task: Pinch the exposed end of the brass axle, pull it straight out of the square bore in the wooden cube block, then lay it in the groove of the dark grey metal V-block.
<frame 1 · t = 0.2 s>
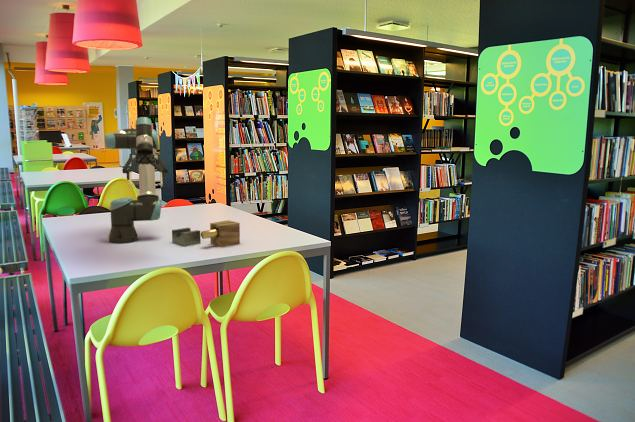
hand: (146, 185, 229), 35 cm above the table, fingers open, 13 cm apart
axle: (217, 236, 265), point 5 cm above the table, touching wooden cube block
v block: (186, 243, 270), on the table
wooden cube block: (225, 243, 270), on the table
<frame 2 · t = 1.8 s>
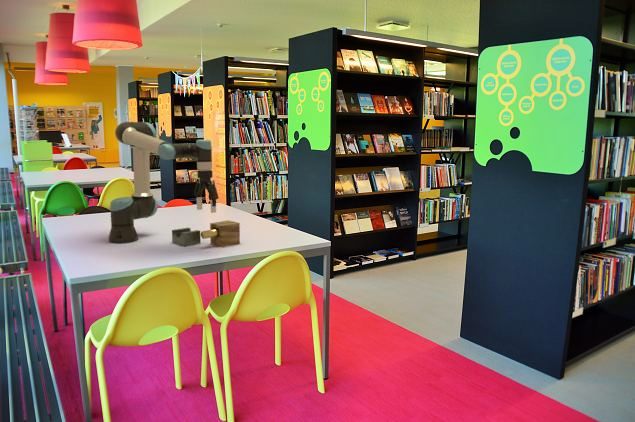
hand: (206, 211, 257), 19 cm above the table, fingers open, 13 cm apart
nothing on the table moved.
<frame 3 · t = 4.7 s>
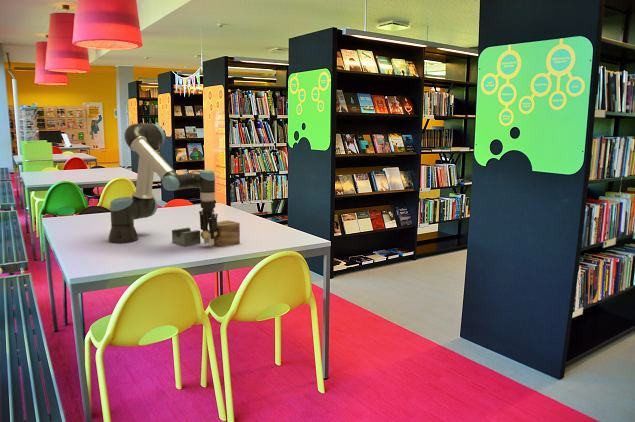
hand: (208, 244, 262), 2 cm above the table, fingers closed on axle, 4 cm apart
axle: (217, 236, 265), point 5 cm above the table, touching wooden cube block, gripper
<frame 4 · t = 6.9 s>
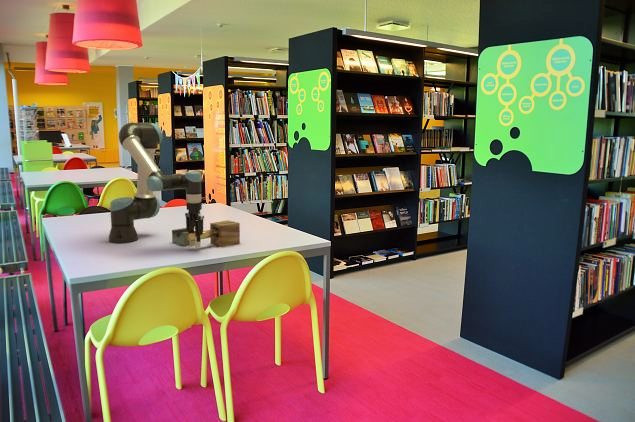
hand: (195, 246, 256), 2 cm above the table, fingers closed on axle, 4 cm apart
axle: (204, 238, 259), point 5 cm above the table, touching gripper
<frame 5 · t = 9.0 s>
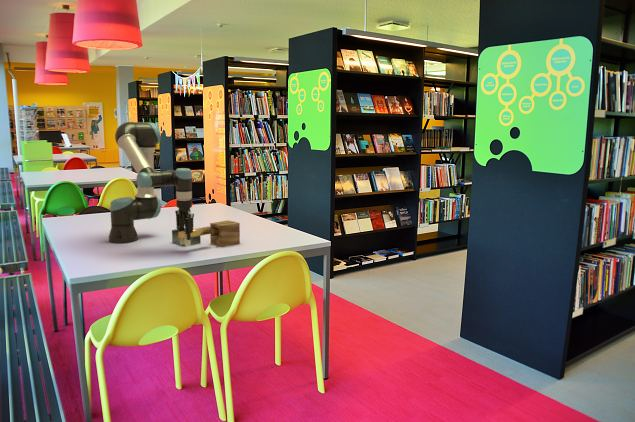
hand: (185, 244, 252), 3 cm above the table, fingers closed on axle, 4 cm apart
axle: (194, 236, 255), point 7 cm above the table, touching gripper
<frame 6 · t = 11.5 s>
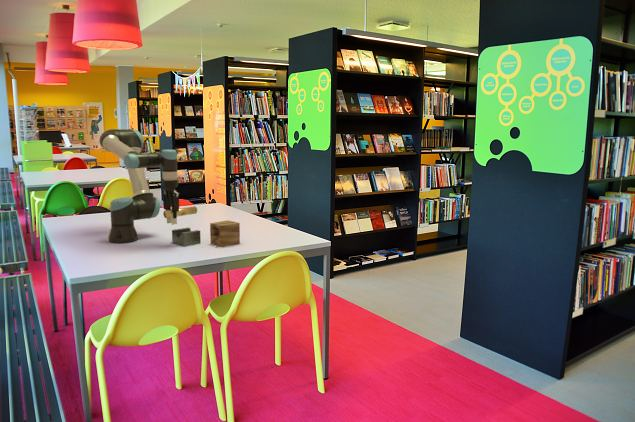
hand: (171, 223, 262), 12 cm above the table, fingers closed on axle, 4 cm apart
axle: (180, 215, 266), point 15 cm above the table, touching gripper
when the fingers open (4 cm above the table, at t = 13.5 s): axle drops 2 cm, resting on v block.
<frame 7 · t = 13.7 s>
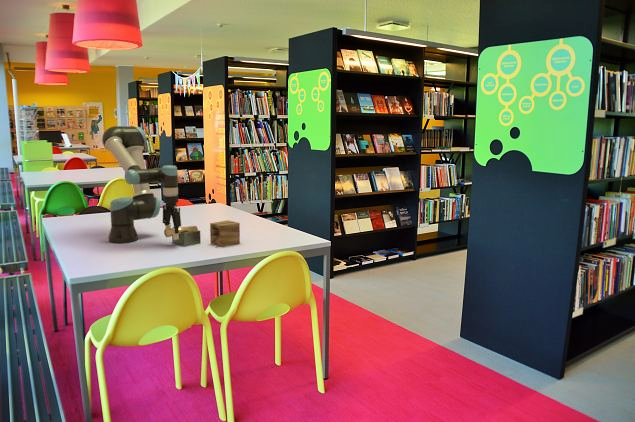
hand: (172, 238, 264), 4 cm above the table, fingers open, 7 cm apart
axle: (181, 234, 267), point 5 cm above the table, touching v block
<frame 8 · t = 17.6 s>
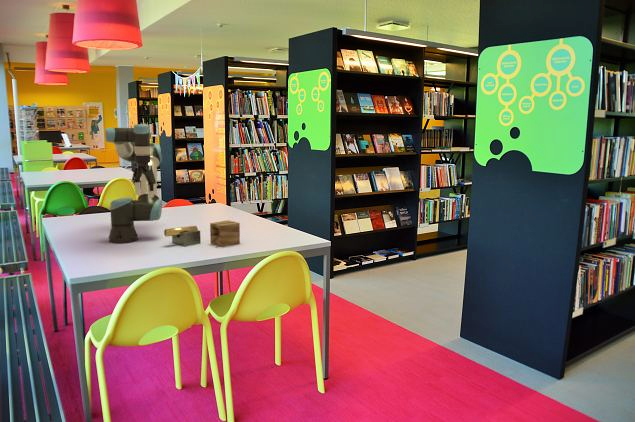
hand: (144, 196, 258), 27 cm above the table, fingers open, 13 cm apart
nothing on the table moved.
at the end: axle 0.1 cm from the target spot on the v block, point 5.0 cm above the v block's base; axle touching v block; the gripper is holding nothing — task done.
